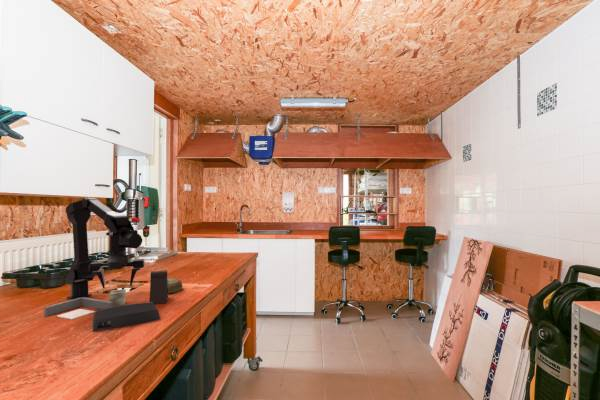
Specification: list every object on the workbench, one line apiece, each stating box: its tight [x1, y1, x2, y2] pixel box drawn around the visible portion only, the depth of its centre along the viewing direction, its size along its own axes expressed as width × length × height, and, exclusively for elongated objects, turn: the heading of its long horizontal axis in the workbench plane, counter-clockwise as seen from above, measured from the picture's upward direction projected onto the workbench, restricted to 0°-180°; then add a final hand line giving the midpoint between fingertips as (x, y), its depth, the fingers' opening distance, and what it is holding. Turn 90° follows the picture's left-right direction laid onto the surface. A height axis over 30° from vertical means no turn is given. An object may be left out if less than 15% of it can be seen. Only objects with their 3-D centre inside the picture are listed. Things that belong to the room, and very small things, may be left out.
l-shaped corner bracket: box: [43, 297, 114, 321], centre depth 115 cm, size 17×13×3 cm
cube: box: [108, 288, 127, 307], centre depth 125 cm, size 5×5×5 cm
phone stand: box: [149, 270, 169, 305], centre depth 129 cm, size 9×6×12 cm, turn 17°
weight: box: [167, 277, 183, 294], centre depth 145 cm, size 14×14×5 cm
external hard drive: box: [92, 302, 161, 333], centre depth 108 cm, size 13×19×4 cm
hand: (117, 286), depth 126 cm, fingers open, 9 cm apart
